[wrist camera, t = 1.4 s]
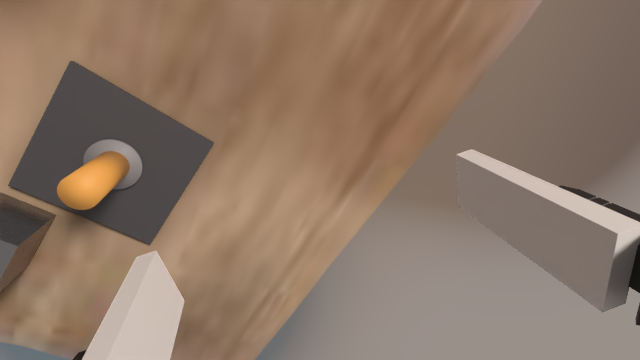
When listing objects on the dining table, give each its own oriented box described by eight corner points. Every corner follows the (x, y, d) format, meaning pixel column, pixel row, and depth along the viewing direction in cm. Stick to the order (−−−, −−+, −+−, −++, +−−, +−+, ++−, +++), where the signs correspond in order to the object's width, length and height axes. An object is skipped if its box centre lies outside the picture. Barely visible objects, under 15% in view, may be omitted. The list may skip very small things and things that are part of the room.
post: (76, 171, 32) (28, 203, 25) (99, 128, 31) (57, 149, 24) (129, 195, 34) (98, 231, 27) (152, 156, 33) (127, 182, 26)
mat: (12, 183, 31) (8, 185, 31) (73, 61, 29) (70, 61, 28) (151, 241, 36) (150, 244, 36) (213, 142, 34) (213, 144, 33)
